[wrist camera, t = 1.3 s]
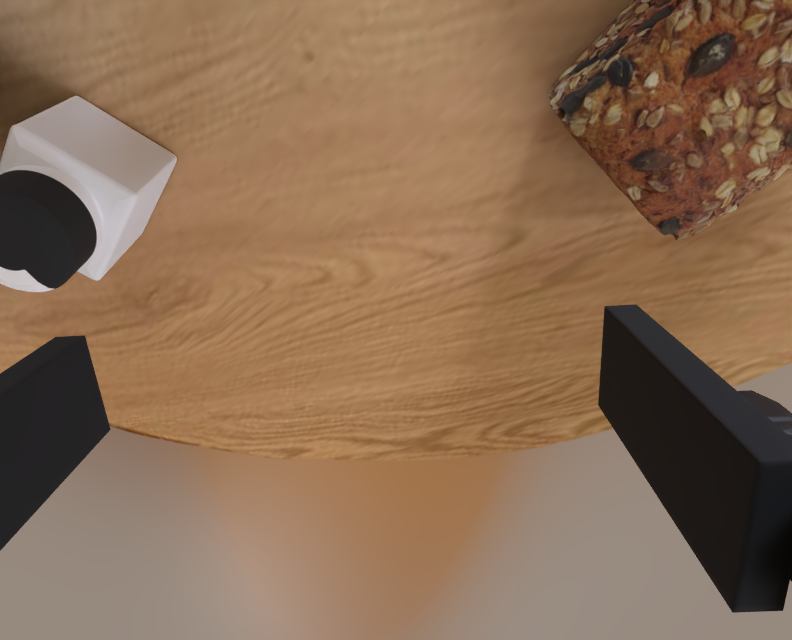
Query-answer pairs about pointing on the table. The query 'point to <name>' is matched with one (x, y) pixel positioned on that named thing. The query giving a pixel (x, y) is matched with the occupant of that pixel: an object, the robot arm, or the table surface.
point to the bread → (685, 105)
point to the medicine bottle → (74, 194)
